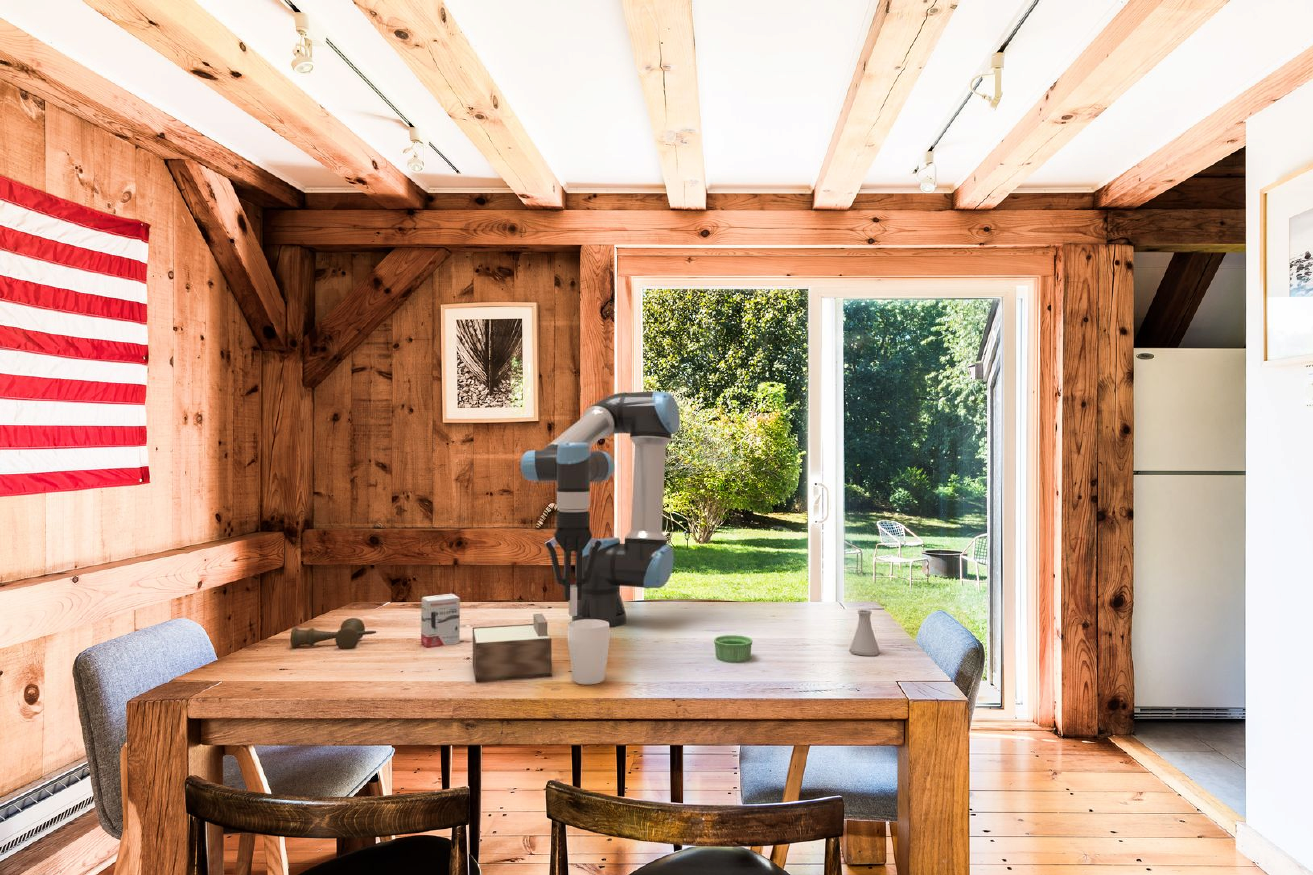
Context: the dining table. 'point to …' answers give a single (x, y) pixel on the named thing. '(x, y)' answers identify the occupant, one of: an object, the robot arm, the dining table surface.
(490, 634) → the lid
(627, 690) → the dining table surface
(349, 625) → the kendama
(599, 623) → the cup
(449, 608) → the ink box
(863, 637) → the flask
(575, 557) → the robot arm
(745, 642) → the ramekin
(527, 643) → the box
